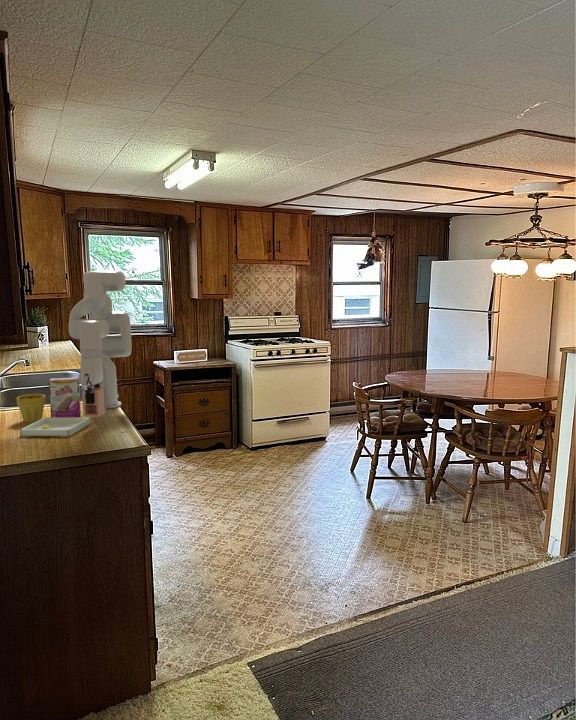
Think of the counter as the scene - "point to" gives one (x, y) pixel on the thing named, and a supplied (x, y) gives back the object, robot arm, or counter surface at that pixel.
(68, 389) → the candy bar box
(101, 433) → the counter surface
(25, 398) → the plant pot
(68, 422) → the tray
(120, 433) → the counter surface
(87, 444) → the counter surface
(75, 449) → the counter surface
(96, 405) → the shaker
